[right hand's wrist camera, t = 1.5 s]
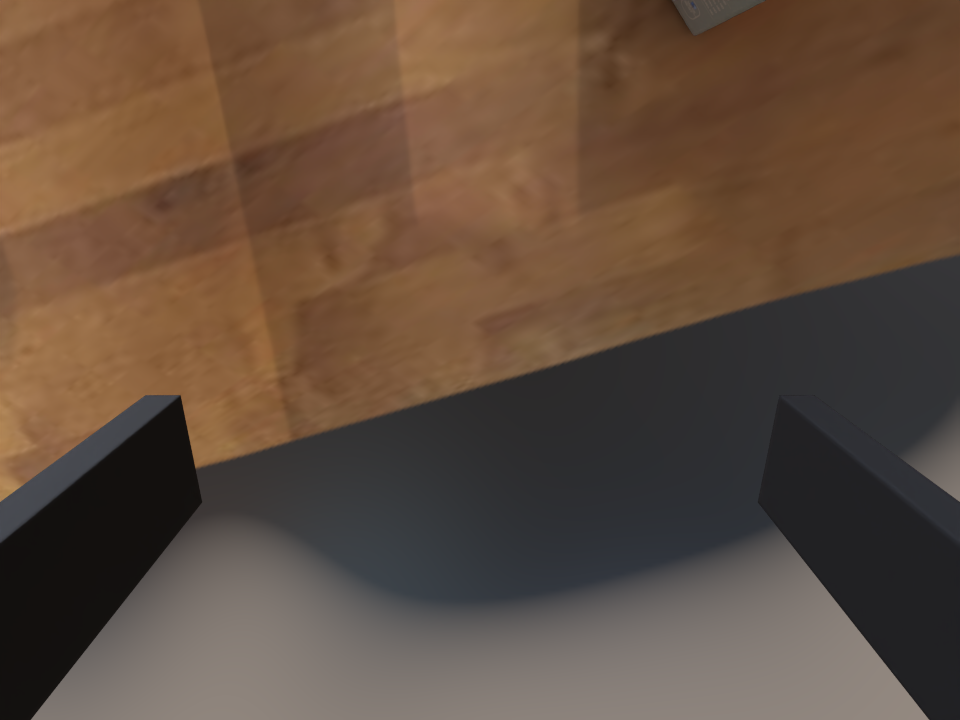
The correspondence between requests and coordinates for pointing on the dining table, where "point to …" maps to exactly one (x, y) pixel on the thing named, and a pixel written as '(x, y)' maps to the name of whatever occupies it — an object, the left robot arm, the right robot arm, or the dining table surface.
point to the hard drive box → (710, 12)
